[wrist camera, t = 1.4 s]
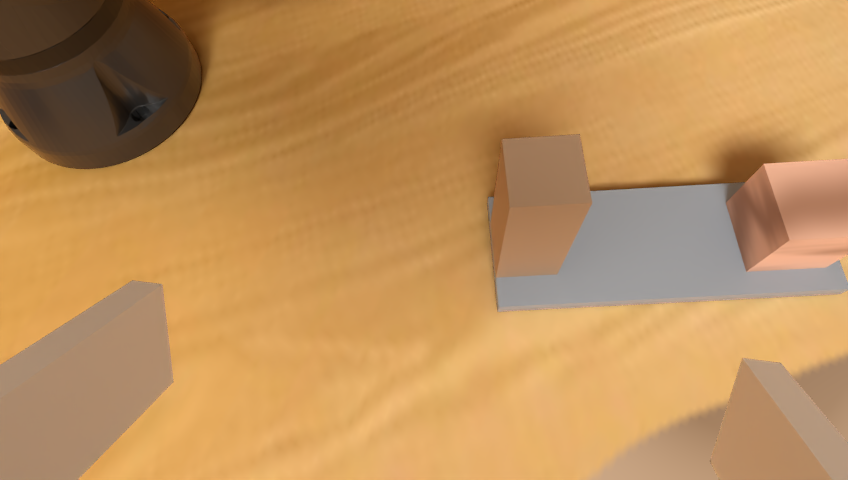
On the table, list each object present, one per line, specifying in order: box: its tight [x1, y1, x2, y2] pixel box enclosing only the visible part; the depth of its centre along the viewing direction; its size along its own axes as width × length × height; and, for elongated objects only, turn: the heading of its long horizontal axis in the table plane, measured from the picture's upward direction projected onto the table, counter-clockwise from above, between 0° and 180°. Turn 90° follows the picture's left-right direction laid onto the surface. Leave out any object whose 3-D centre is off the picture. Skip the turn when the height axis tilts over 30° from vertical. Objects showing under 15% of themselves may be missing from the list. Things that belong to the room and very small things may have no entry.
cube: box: [726, 159, 848, 272], centre depth 34 cm, size 5×5×5 cm
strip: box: [487, 134, 848, 312], centre depth 32 cm, size 8×22×11 cm, turn 92°
